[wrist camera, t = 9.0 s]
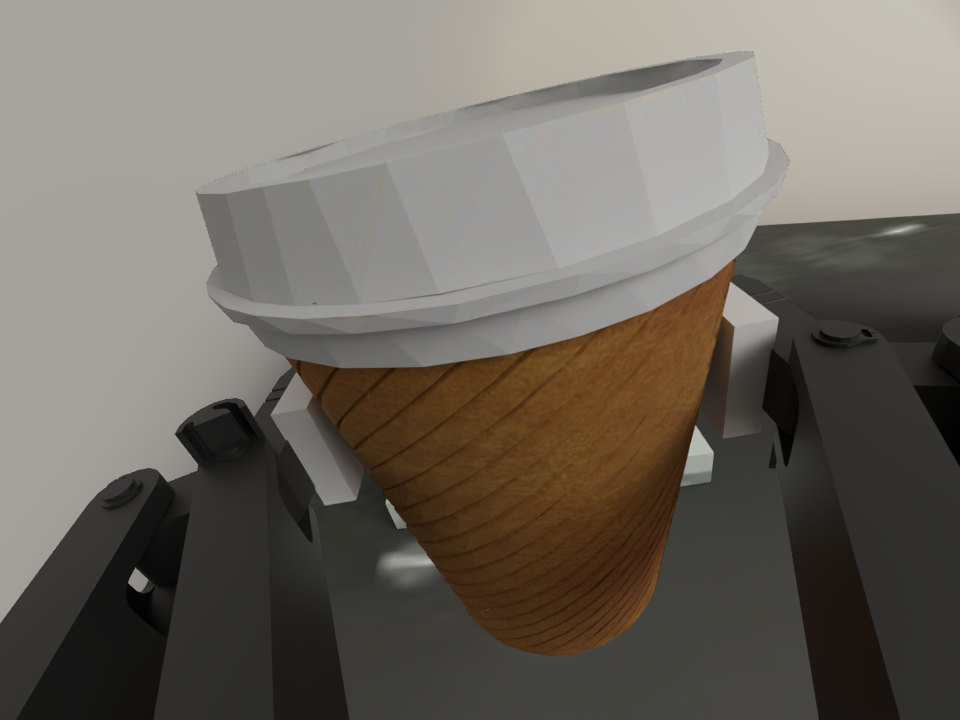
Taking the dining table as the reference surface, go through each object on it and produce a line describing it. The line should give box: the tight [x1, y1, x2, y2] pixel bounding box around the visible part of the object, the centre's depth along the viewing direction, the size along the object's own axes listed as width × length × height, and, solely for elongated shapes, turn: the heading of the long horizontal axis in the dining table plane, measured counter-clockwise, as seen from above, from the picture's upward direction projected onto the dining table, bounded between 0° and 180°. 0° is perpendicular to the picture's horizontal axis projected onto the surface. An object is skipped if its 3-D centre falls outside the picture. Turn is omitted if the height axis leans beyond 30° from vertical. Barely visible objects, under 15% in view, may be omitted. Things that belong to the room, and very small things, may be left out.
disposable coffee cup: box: [196, 51, 790, 656], centre depth 11 cm, size 10×10×12 cm
